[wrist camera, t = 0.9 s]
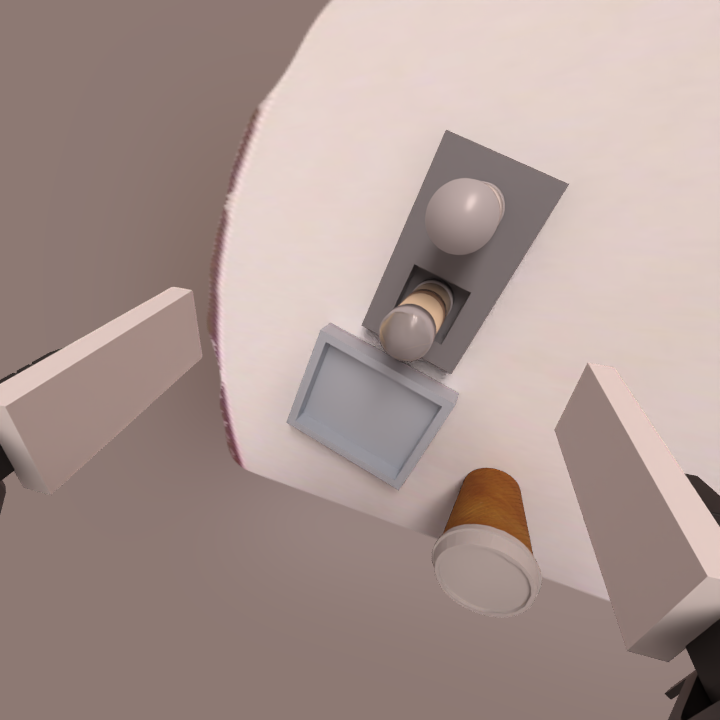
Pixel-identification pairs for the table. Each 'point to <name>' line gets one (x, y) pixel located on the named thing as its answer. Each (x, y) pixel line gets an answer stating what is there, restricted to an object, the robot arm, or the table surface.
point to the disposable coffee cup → (488, 548)
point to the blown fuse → (416, 320)
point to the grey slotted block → (466, 238)
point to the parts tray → (369, 405)
